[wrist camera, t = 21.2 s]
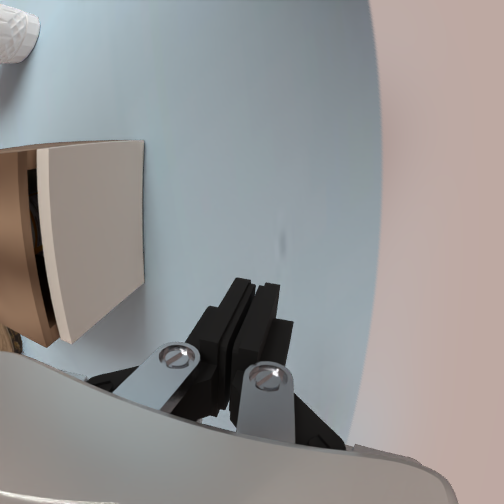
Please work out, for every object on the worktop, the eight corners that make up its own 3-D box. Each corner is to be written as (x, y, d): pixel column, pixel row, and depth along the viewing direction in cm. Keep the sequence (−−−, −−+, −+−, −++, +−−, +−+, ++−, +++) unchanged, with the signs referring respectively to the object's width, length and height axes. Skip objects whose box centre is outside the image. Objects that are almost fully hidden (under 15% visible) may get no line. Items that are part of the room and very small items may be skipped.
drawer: (45, 143, 28) (-40, 157, 17) (144, 140, 26) (48, 148, 15) (52, 259, 33) (-19, 299, 22) (144, 282, 30) (72, 344, 20)
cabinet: (35, 144, 29) (-58, 161, 17) (131, 140, 26) (17, 152, 14) (43, 256, 33) (-37, 300, 21) (132, 278, 31) (46, 347, 19)
